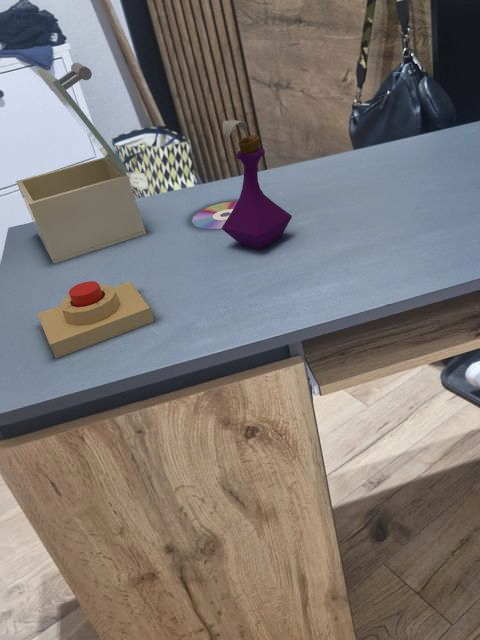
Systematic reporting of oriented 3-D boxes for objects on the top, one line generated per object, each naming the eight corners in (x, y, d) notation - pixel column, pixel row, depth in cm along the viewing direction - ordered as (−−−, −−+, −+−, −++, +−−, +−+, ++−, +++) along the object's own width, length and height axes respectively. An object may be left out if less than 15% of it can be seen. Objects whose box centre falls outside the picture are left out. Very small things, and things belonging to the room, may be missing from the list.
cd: (267, 200, 109) (267, 199, 109) (247, 228, 100) (247, 227, 100) (206, 202, 111) (205, 202, 111) (181, 230, 102) (181, 230, 102)
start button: (77, 311, 76) (71, 299, 75) (71, 300, 79) (65, 288, 78) (106, 301, 78) (102, 288, 77) (99, 290, 80) (95, 278, 79)
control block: (56, 359, 75) (43, 331, 73) (43, 328, 82) (31, 301, 79) (155, 322, 79) (145, 294, 77) (135, 295, 86) (126, 269, 84)
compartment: (54, 264, 97) (28, 204, 92) (39, 237, 107) (15, 181, 102) (146, 234, 103) (127, 175, 97) (124, 211, 113) (106, 156, 107)
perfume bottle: (259, 228, 100) (234, 109, 89) (296, 236, 96) (274, 112, 85) (225, 248, 95) (195, 125, 85) (263, 257, 91) (235, 129, 81)
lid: (52, 82, 87) (86, 58, 88) (36, 70, 97) (66, 49, 98) (124, 174, 97) (154, 152, 98) (103, 155, 107) (130, 135, 108)
